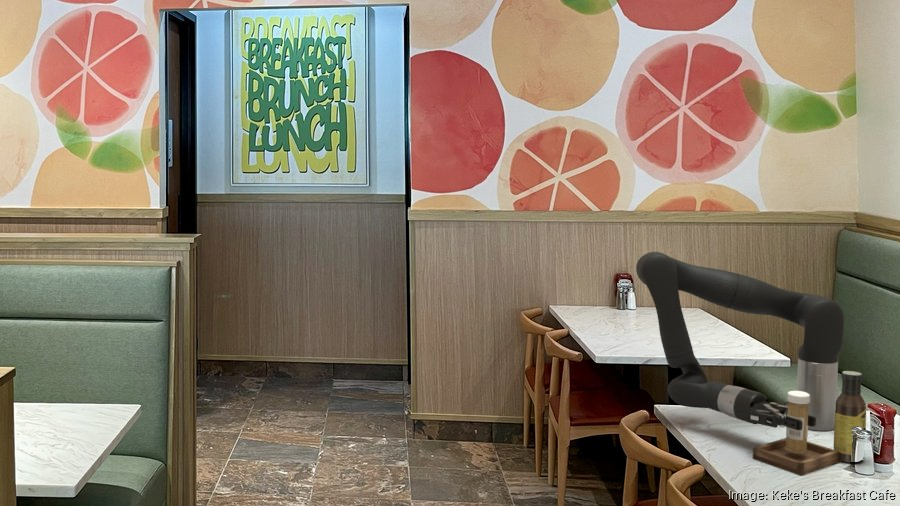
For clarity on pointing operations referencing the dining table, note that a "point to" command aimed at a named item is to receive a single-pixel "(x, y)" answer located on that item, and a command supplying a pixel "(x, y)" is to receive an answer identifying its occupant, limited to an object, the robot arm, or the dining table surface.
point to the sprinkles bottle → (798, 410)
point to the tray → (796, 457)
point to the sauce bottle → (848, 413)
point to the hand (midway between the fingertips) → (807, 423)
